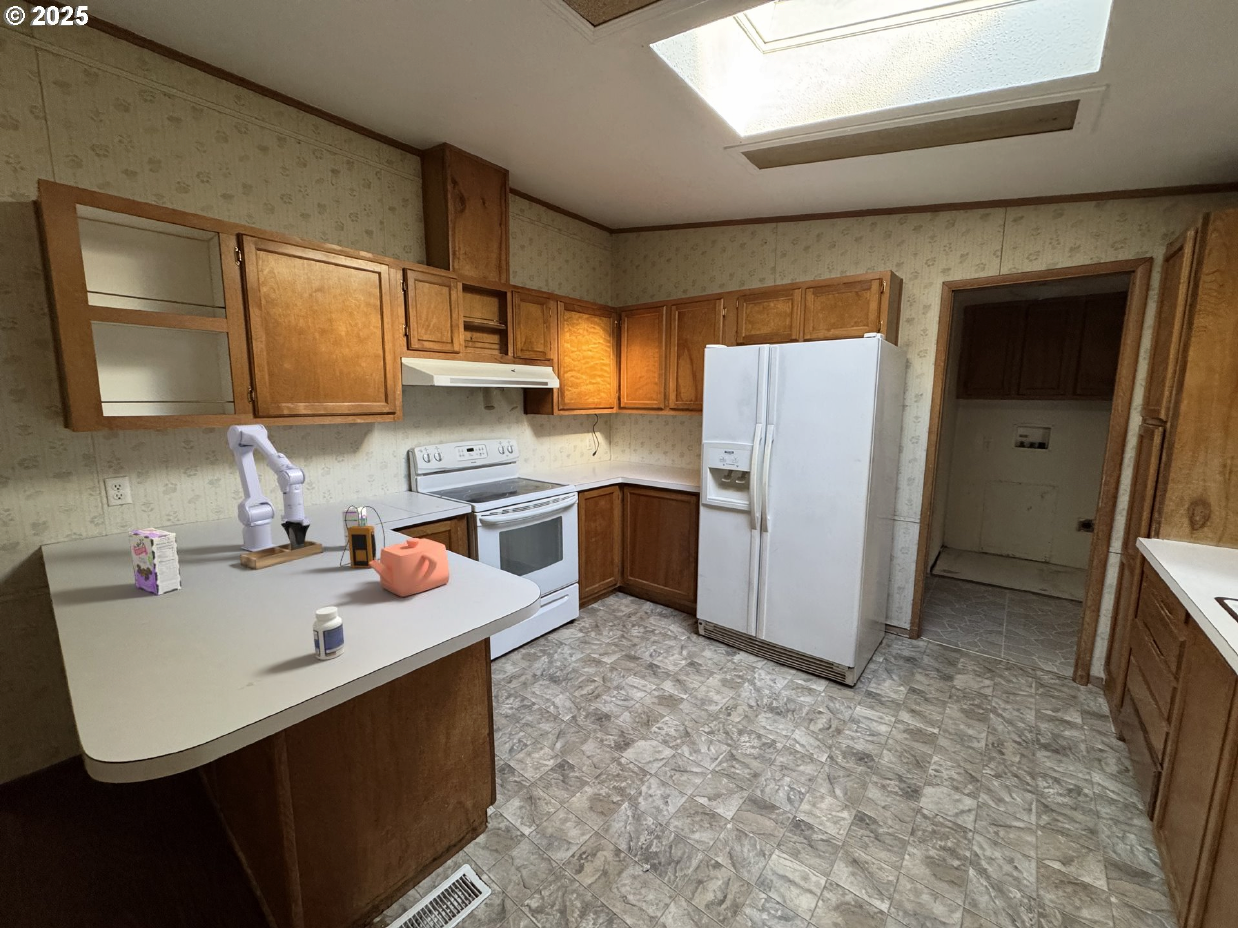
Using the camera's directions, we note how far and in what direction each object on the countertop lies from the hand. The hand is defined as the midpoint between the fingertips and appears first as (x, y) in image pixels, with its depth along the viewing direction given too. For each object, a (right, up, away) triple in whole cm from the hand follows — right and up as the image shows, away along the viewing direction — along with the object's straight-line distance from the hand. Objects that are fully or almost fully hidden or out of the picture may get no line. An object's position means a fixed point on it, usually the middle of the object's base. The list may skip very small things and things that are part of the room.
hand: (297, 543), depth 176 cm
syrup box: (+16, -3, +8) cm, 19 cm away
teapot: (+51, -8, -31) cm, 60 cm away
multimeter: (+29, -5, -9) cm, 31 cm away
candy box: (-21, -9, -30) cm, 37 cm away
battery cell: (0, -2, 0) cm, 2 cm away
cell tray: (-3, -5, -4) cm, 6 cm away
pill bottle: (+49, -13, -68) cm, 85 cm away
